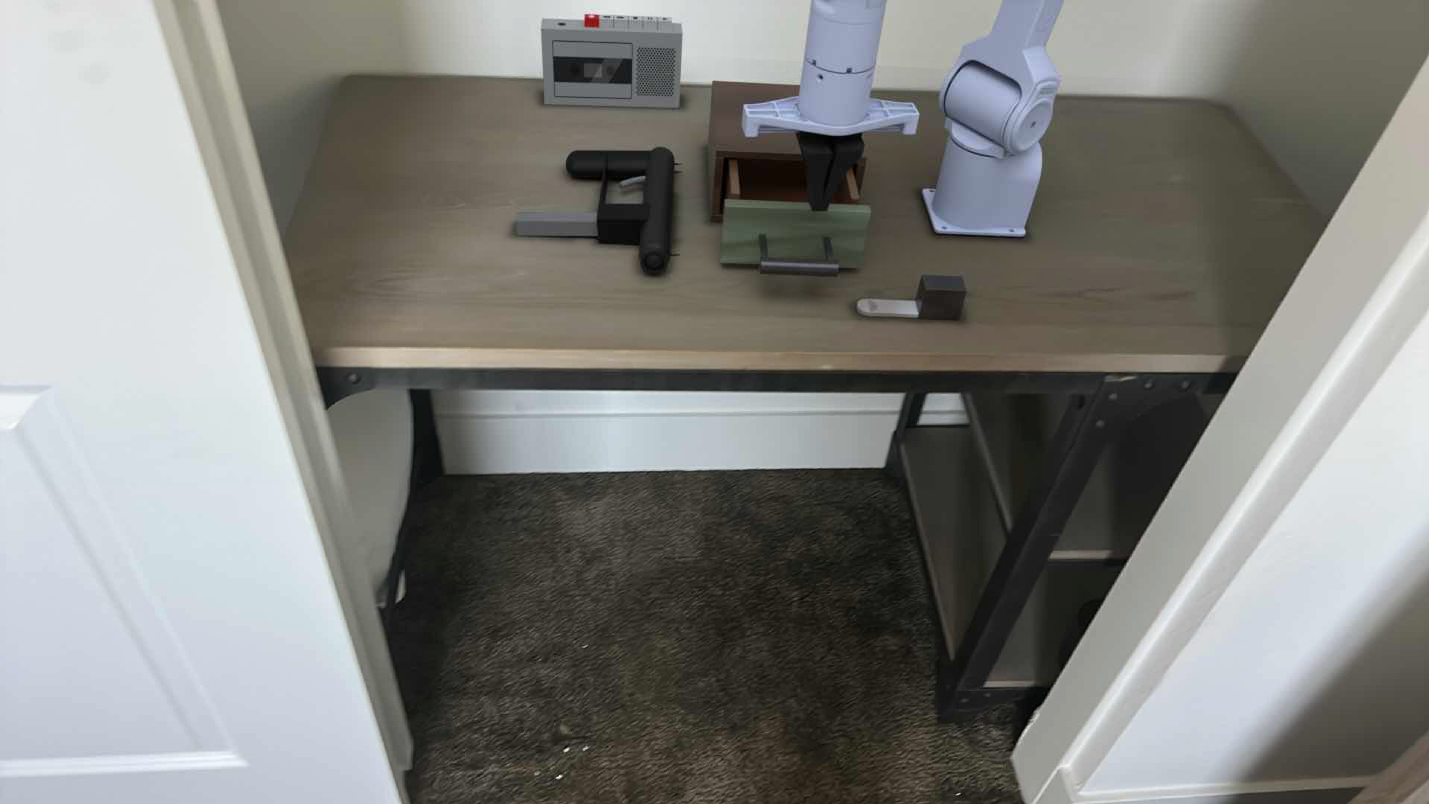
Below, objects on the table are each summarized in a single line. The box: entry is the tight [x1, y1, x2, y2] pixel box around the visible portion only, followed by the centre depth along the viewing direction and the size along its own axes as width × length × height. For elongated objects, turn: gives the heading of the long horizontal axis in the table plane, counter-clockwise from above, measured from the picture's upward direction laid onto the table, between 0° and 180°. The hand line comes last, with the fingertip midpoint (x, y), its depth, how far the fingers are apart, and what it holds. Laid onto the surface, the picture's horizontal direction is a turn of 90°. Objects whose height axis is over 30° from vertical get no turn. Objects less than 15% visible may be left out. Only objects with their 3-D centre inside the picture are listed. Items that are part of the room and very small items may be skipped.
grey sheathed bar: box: [855, 274, 968, 321], centre depth 95 cm, size 9×2×3 cm, turn 92°
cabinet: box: [707, 80, 868, 223], centre depth 107 cm, size 15×15×8 cm
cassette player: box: [540, 13, 684, 109], centre depth 118 cm, size 16×3×10 cm, turn 94°
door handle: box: [514, 146, 684, 275], centre depth 103 cm, size 3×20×16 cm
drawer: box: [719, 157, 872, 278], centre depth 99 cm, size 19×13×6 cm
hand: (817, 205), depth 91 cm, fingers closed
